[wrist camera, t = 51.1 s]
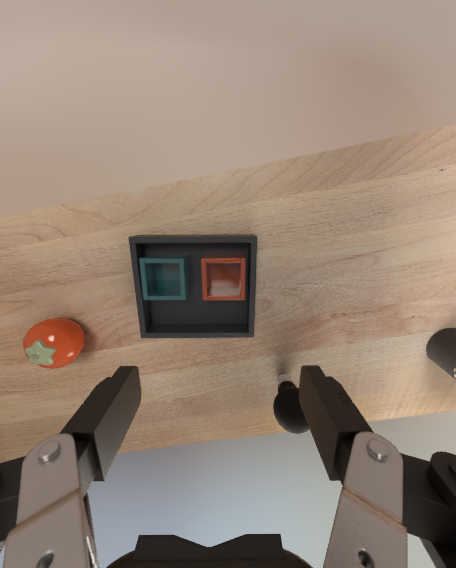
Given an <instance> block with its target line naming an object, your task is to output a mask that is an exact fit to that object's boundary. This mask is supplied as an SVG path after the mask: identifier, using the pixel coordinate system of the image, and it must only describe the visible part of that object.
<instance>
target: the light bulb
mask: <svg viewBox="0 0 456 568" xmlns="http://www.w3.org/2000/svg"><path fill="white" fill-rule="evenodd" d="M277 384H278V394H277V396H276V398H275V400H274V406H273V410H274V415H275V417H276V420H277V421H278V423H279V424H280V425H281V426H282V427H283V428H284V429H285V430H287V431H289V432H291V433H296V434H300V433H303V432H306V431H308V430H309V429H310V428H309V426H308V423H307V420H306V418H305V415H304V413H303V410H302V408H301V405H300V401H299V388H297V387H296V386H295V384H294V383H293V382H292V380H291V377H290V376H289V375H287V374H281V375H280V376H278V378H277Z"/></svg>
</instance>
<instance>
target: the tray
mask: <svg viewBox="0 0 456 568" xmlns="http://www.w3.org/2000/svg"><path fill="white" fill-rule="evenodd" d="M129 243H130V251H131V259H132V268H133V276H134V284H135V292H136V300H137V308H138V316H139V324H140V332H141V338H232V337H254V317H255V286H256V254H257V236H255V235H136V236H131V237H129ZM150 253H189V261H190V283H191V290H190V292H189V294H188V296H187V298H186V300H144V299H143V289H142V280H141V271H140V262H139V258H141V257H144V256H146V255H148V254H150ZM205 253H243V254H244V257H245V300H203V291H202V270H201V258H202V257H203V255H204V254H205Z"/></svg>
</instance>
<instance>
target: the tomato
mask: <svg viewBox="0 0 456 568" xmlns="http://www.w3.org/2000/svg"><path fill="white" fill-rule="evenodd" d="M84 342H85V334H84V331H83V329H82V327H81V326H80V325H79V324H78V323H77V322H75V321H73V320H71V319H66V318H54V319H47V320H44V321H42V322H39V323H37V324H35V325H34V326H33V327H31V328H30V330H29V331H28V332H27V333H26V335H25V338H24V341H23V347H24V351H25V354H26V356H27V357H28V358H29V361H30V362H32V364H34V365H38V366H41V367H44V368H50V369H54V368H61V367H64V366H66V365H68V364H70V363H71V362H73V361H74V360H75V359H76V358H77V357H78V355H79V354H80V353H81V350H82V348H83V345H84Z"/></svg>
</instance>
